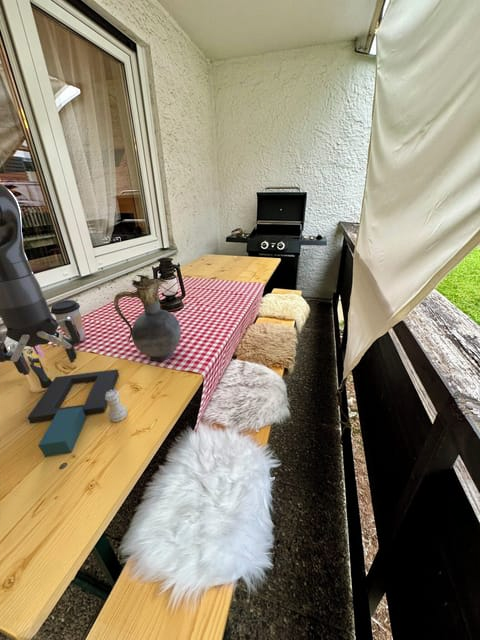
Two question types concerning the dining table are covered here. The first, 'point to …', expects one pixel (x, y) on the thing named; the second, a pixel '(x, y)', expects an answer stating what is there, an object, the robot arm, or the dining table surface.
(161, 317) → the pitcher
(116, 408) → the rook chess piece
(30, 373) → the beer glass
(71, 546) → the dining table surface
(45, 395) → the dark grey rectangular frame
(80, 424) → the block
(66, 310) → the coffee cup
